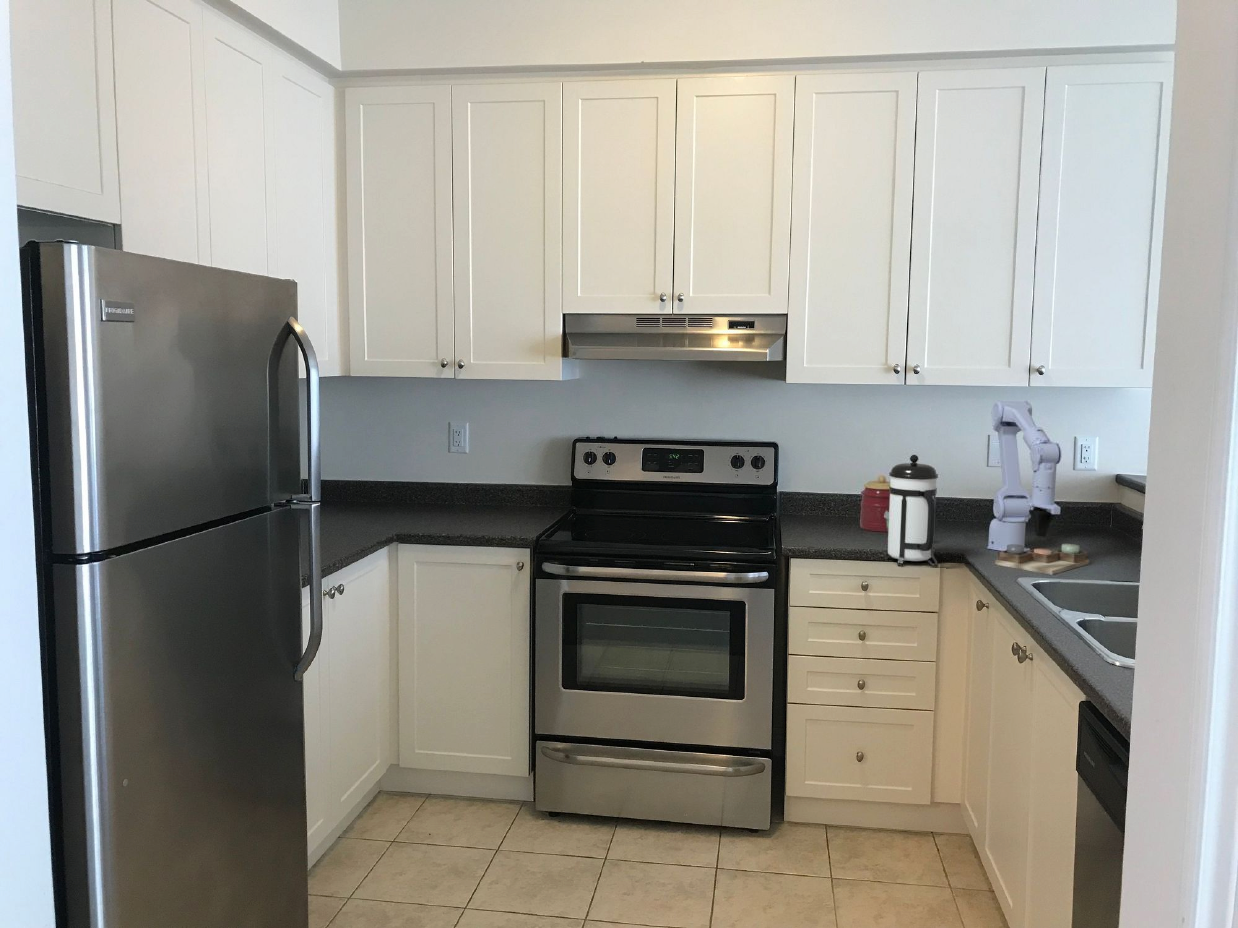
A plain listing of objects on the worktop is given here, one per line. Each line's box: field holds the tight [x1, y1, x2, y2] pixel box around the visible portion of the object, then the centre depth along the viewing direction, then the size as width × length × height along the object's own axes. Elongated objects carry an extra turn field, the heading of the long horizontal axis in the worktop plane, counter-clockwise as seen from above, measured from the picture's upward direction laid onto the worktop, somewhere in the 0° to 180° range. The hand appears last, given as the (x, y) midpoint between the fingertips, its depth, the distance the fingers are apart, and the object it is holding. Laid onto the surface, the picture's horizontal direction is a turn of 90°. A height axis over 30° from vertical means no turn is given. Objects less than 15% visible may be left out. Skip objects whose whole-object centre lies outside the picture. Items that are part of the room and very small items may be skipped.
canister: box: [859, 475, 891, 533], centre depth 318 cm, size 13×13×18 cm
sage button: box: [1060, 543, 1080, 554], centre depth 267 cm, size 4×4×3 cm
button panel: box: [994, 548, 1090, 576], centre depth 266 cm, size 16×21×3 cm
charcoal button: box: [1007, 544, 1025, 555], centre depth 266 cm, size 4×4×3 cm
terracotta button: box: [1033, 548, 1053, 555], centre depth 266 cm, size 4×4×3 cm
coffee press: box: [883, 454, 939, 568], centre depth 265 cm, size 17×16×30 cm
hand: (1040, 535), depth 266 cm, fingers closed
